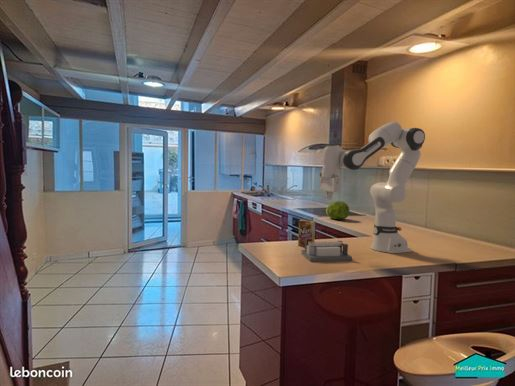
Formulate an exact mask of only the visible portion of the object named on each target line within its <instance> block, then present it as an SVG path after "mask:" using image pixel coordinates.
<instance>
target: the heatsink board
mask: <svg viewBox="0 0 515 386" xmlns="http://www.w3.org/2000/svg"><path fill="white" fill-rule="evenodd" d="M308 241H312V239H311V238H305V247H304V249H301V255H302V256H303V257H304V258H305V259H307V260H308V261H309V262H331V261H332V262H340V261H341V262H342V261H343V262H345V261H346V262H347V261H352V260H353V258H352V257H353V256H352V255H350V254H348V252H349V244H348V243H343V241H342V240H337V242H342V243H343V246H309V245H308Z"/></svg>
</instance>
